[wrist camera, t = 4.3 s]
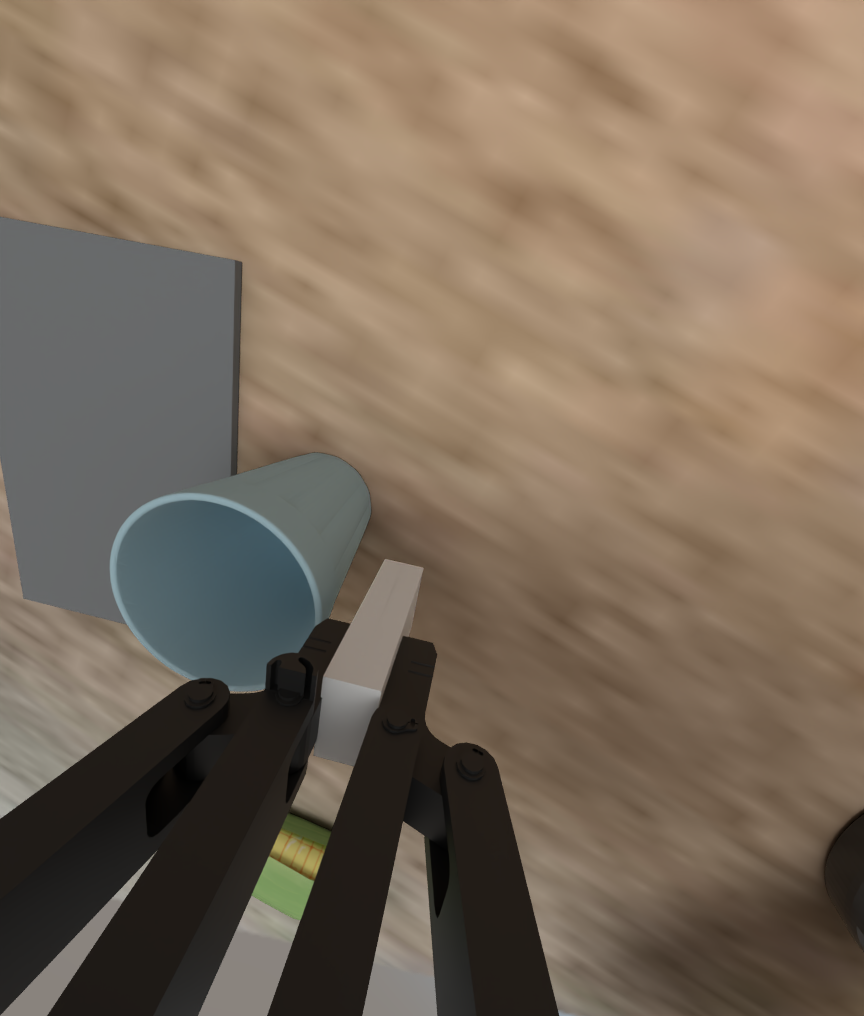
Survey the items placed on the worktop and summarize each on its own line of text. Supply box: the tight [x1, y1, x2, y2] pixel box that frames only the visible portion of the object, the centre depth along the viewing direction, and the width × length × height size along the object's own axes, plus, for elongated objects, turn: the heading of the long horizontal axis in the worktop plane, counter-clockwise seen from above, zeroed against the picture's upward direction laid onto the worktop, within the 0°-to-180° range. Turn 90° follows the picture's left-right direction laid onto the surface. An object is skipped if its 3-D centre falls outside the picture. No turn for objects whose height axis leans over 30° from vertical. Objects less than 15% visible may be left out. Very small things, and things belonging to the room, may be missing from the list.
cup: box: [110, 453, 371, 691], centre depth 21 cm, size 8×8×10 cm
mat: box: [0, 217, 242, 624], centre depth 26 cm, size 14×22×1 cm, turn 170°
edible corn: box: [252, 813, 331, 920], centre depth 33 cm, size 5×20×4 cm
